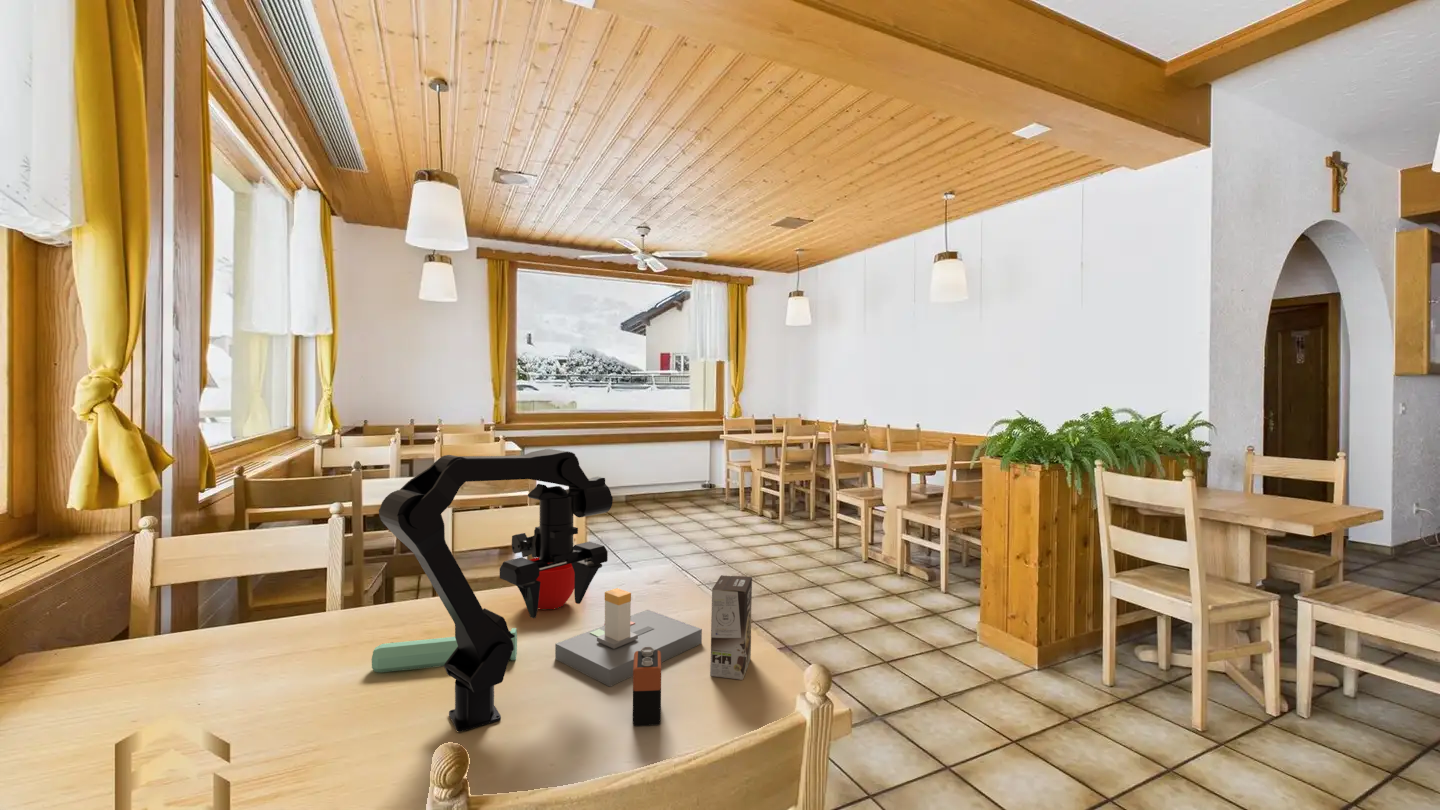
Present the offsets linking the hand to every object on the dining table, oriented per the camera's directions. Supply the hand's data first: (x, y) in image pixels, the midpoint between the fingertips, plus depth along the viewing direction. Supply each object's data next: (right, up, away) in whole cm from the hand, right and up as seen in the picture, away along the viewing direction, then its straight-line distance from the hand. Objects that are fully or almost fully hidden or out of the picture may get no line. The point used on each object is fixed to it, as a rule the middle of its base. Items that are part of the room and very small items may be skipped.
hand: (556, 610), depth 108 cm
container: (-23, -13, +8) cm, 27 cm away
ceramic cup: (-12, -12, +36) cm, 40 cm away
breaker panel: (+11, -13, +14) cm, 22 cm away
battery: (+17, -14, -9) cm, 24 cm away
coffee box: (+31, -13, +8) cm, 34 cm away
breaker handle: (+9, -9, +11) cm, 17 cm away
